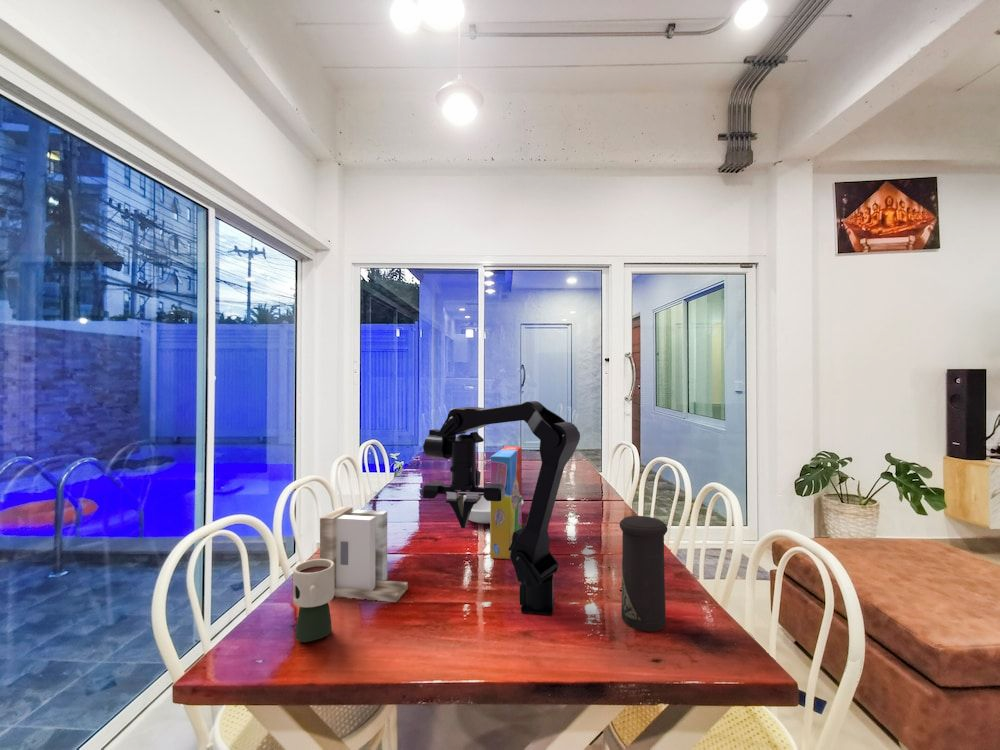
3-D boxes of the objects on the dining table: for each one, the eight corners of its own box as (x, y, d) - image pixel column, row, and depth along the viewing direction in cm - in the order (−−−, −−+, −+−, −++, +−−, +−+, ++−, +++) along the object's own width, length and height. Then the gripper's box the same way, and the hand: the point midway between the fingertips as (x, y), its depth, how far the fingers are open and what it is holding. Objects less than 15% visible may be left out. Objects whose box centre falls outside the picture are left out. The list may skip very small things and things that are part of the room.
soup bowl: (443, 515, 161) (443, 496, 161) (505, 507, 171) (505, 490, 171) (467, 536, 139) (467, 515, 139) (536, 526, 149) (536, 505, 149)
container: (630, 605, 96) (630, 510, 97) (674, 619, 91) (673, 518, 91) (612, 622, 90) (612, 519, 90) (658, 638, 84) (657, 529, 84)
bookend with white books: (413, 582, 108) (413, 509, 108) (396, 602, 98) (396, 522, 98) (342, 576, 111) (342, 506, 111) (319, 595, 101) (319, 518, 101)
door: (375, 587, 104) (375, 516, 104) (369, 593, 101) (369, 520, 101) (342, 584, 105) (342, 514, 105) (335, 590, 102) (335, 518, 102)
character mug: (295, 624, 89) (295, 557, 89) (334, 618, 91) (334, 552, 91) (290, 656, 79) (290, 580, 79) (334, 648, 81) (334, 574, 81)
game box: (510, 560, 121) (509, 457, 121) (489, 558, 122) (489, 456, 122) (522, 534, 141) (521, 445, 141) (504, 533, 142) (504, 445, 142)
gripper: (508, 456, 113) (508, 519, 113) (435, 454, 117) (435, 515, 116) (500, 464, 102) (500, 534, 102) (420, 462, 106) (421, 530, 105)
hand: (463, 527), depth 107 cm, fingers closed
